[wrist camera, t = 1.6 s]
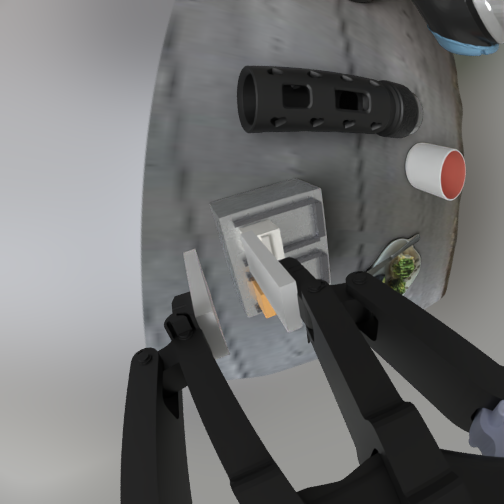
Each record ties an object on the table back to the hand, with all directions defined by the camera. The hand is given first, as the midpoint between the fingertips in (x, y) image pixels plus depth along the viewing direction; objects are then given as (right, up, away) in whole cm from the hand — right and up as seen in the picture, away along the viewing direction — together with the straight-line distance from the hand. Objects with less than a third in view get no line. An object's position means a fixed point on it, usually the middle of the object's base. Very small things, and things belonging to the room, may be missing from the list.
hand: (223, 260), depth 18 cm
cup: (+36, +19, +32) cm, 52 cm away
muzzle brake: (+13, +24, +22) cm, 35 cm away
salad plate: (+33, -5, +42) cm, 53 cm away
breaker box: (+4, +3, +28) cm, 28 cm away
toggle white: (+2, +2, +18) cm, 19 cm away
